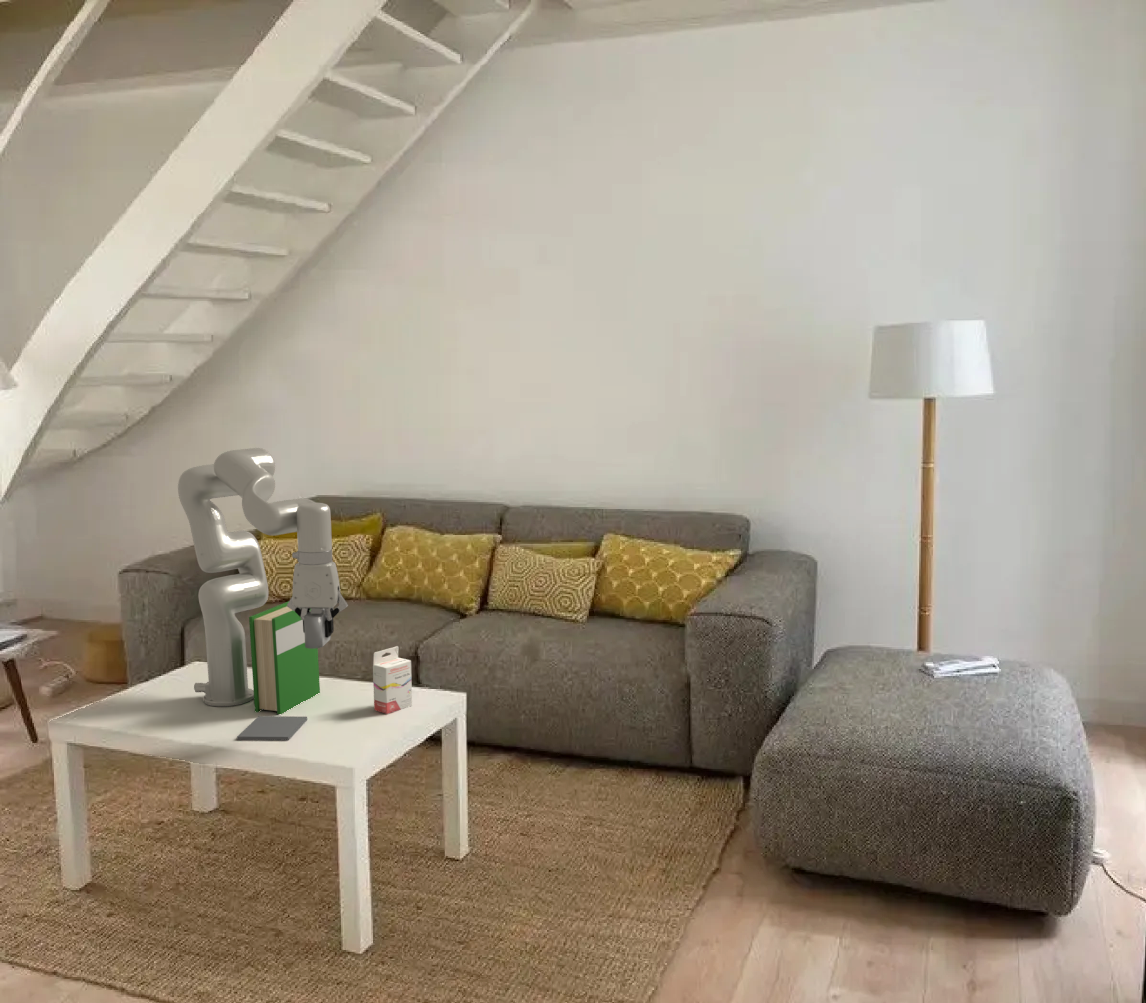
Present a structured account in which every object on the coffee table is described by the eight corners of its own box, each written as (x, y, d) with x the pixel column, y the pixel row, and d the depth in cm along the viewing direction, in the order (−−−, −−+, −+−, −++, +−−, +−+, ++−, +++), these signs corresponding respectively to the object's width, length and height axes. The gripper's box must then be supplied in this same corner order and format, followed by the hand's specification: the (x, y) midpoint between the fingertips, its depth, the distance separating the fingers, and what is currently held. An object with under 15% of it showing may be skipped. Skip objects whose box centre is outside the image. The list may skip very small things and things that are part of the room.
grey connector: (302, 648, 257) (301, 609, 256) (316, 636, 267) (314, 599, 266) (320, 648, 257) (318, 609, 255) (332, 637, 267) (331, 599, 265)
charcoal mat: (237, 739, 262) (237, 736, 262) (258, 719, 276) (258, 716, 276) (288, 740, 261) (288, 737, 261) (307, 719, 275) (307, 716, 275)
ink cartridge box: (387, 715, 277) (384, 656, 275) (373, 711, 281) (371, 652, 278) (413, 705, 284) (411, 648, 282) (400, 701, 287) (397, 645, 285)
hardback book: (280, 714, 279) (274, 619, 275) (254, 712, 281) (248, 617, 278) (320, 693, 295) (315, 602, 292) (295, 690, 298) (290, 600, 294)
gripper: (273, 560, 256) (277, 639, 259) (347, 561, 255) (350, 641, 258) (284, 553, 264) (288, 630, 267) (356, 554, 262) (358, 632, 265)
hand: (318, 635), depth 262 cm, fingers closed on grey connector, 4 cm apart
